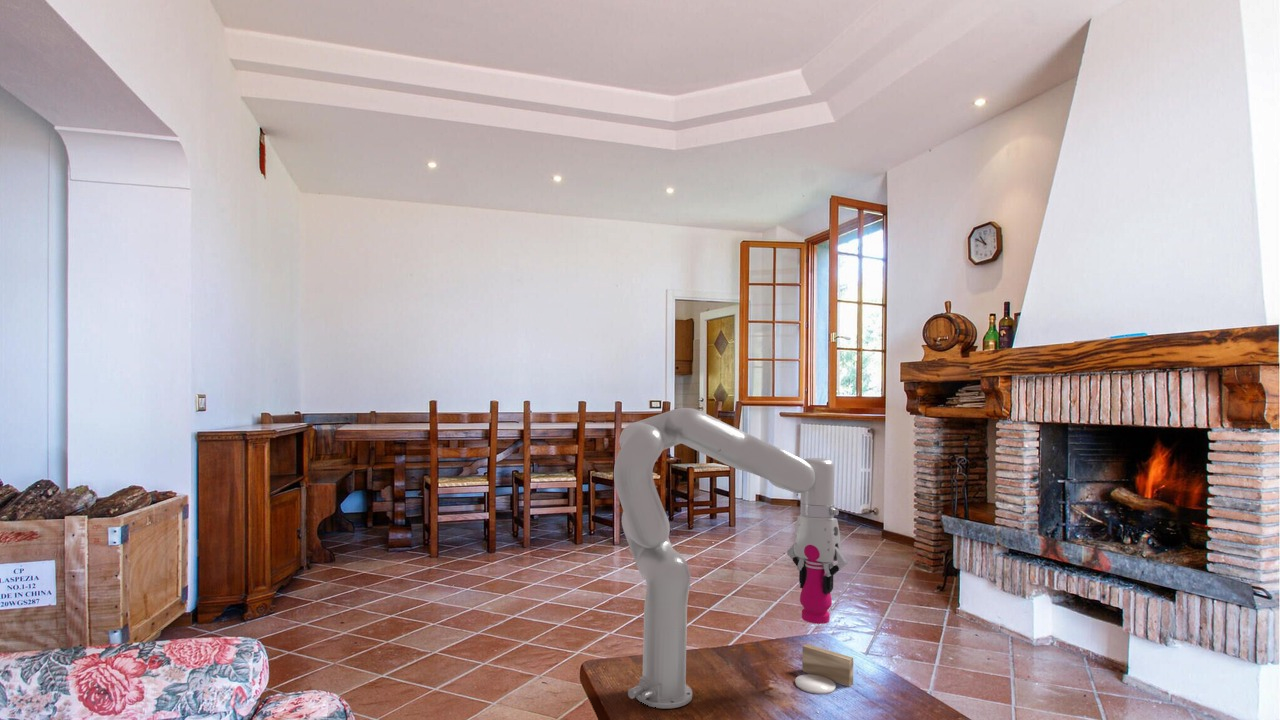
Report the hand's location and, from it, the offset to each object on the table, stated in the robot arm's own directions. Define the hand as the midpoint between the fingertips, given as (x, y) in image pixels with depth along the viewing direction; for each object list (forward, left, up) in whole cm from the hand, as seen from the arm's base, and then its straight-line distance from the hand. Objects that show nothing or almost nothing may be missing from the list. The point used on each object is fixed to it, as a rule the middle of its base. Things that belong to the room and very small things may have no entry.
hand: (815, 589), depth 152 cm
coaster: (0, 0, -22) cm, 22 cm away
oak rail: (+6, 0, -22) cm, 23 cm away
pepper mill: (0, 0, -7) cm, 7 cm away
